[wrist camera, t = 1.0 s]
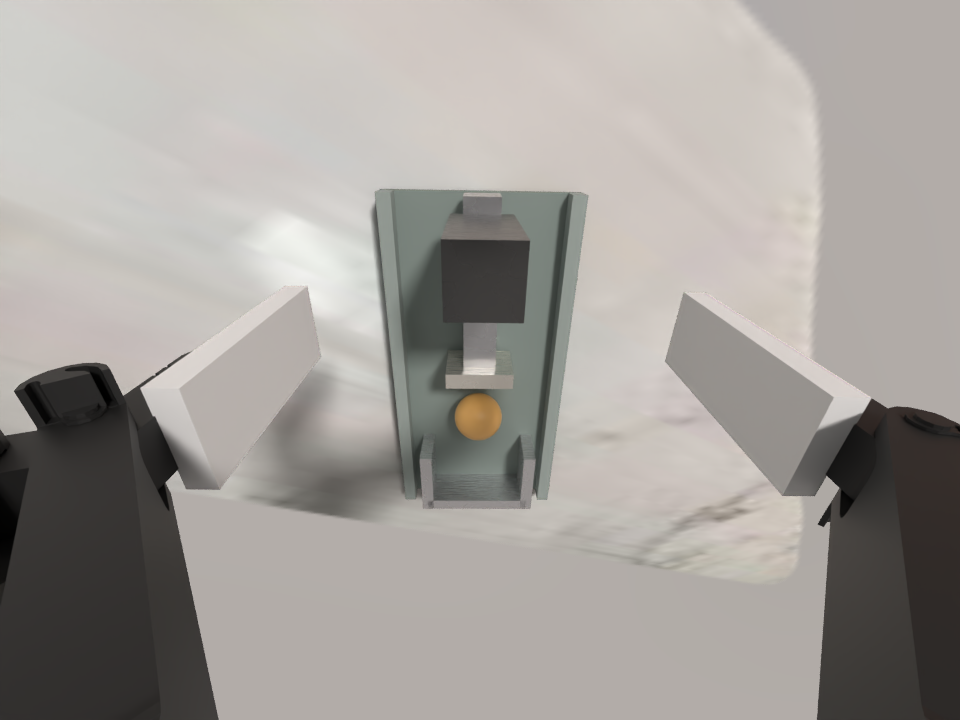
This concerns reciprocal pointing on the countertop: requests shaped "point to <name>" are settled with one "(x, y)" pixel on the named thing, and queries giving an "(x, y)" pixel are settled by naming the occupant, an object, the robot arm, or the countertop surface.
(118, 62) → the countertop surface
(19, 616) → the robot arm
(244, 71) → the countertop surface
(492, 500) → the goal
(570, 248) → the grey-green channel tray
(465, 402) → the ball
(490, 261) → the block
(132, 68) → the countertop surface
